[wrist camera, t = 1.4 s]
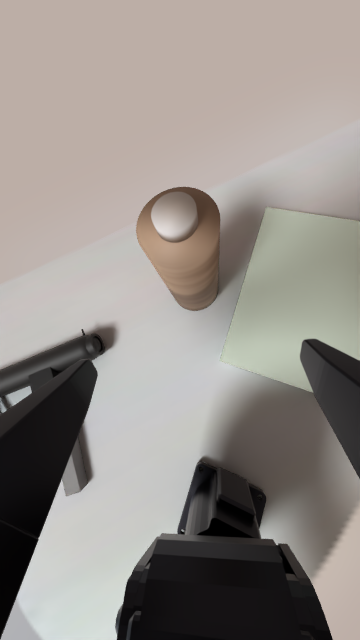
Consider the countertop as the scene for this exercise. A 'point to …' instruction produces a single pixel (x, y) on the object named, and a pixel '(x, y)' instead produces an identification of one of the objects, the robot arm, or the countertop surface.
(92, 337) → the door handle
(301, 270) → the serving board
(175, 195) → the brown capped cylinder
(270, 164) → the countertop surface
